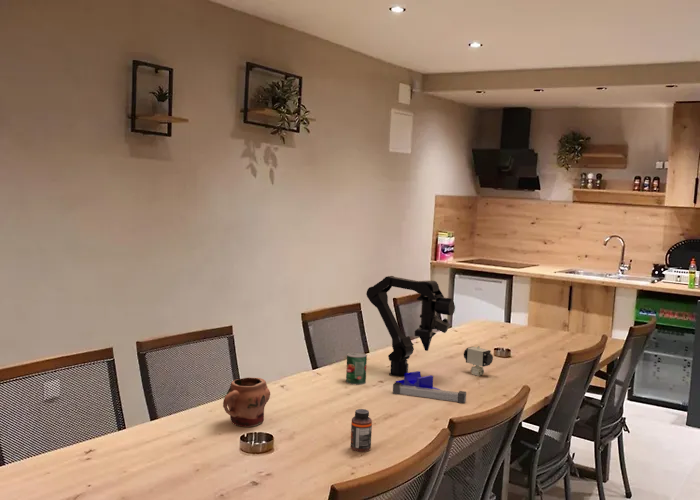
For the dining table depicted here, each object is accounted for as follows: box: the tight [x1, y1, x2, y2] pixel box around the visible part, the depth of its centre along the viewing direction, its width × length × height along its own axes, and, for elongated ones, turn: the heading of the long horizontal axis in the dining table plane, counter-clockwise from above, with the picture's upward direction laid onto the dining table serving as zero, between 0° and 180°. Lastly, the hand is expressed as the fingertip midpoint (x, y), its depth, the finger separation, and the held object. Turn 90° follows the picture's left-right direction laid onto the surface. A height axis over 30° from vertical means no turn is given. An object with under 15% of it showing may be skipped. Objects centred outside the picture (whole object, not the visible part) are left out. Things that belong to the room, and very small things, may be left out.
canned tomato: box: [345, 351, 368, 386], centre depth 273 cm, size 8×8×11 cm
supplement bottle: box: [350, 408, 373, 453], centre depth 202 cm, size 6×6×11 cm
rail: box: [392, 381, 467, 404], centre depth 256 cm, size 27×3×4 cm, turn 70°
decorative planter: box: [222, 377, 271, 428], centre depth 219 cm, size 20×12×14 cm, turn 154°
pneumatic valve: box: [463, 346, 494, 377], centre depth 292 cm, size 6×12×12 cm, turn 46°
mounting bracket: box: [395, 370, 441, 390], centre depth 267 cm, size 18×7×6 cm, turn 37°
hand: (426, 350), depth 279 cm, fingers closed
